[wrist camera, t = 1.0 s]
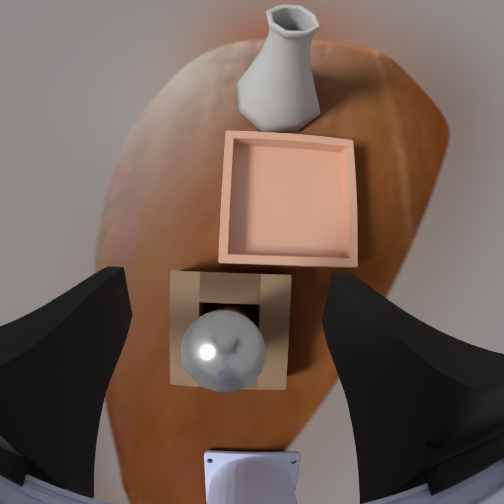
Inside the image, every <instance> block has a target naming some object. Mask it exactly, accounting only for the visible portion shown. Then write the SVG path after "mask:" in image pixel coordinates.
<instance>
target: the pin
mask: <svg viewBox="0 0 504 504" xmlns="http://www.w3.org/2000/svg"><path fill="white" fill-rule="evenodd" d="M181 358H182V362H183V365H184V367H185V369H186V371H187V372H188V374H189V375H190V376H191V378H192V379H193V380H194V381H196V382H197V383H198V384H200V385H201V386H203V387H205V388H207V389H210V390H213V391H217V392H232V391H236V390H240V389H242V388H244V387H246V386H248V385H249V384H251V383H252V382H253V381H254V380H255V379H256V378H257V377H258V376H259V374H260V372H261V371H262V369H263V366H264V363H265V358H266V348H265V343H264V340H263V337H262V334H261V332H260V330H259V329H258V327H257V326H256V325H255V324H254V322H252V321H251V319H250V317H249V315H248V314H247V313H246V312H245V311H244V310H243V309H241V308H239V307H236V306H224V307H221V308H219V309H218V310H215V311H211V312H208V313H206V314H204V315H202V316H200V317H199V318H198V319H196V320H195V321H194V322H193V323H192V324H191V325H190V326H189V328H188V329H187V330H186V332H185V334H184V336H183V339H182V343H181Z"/></svg>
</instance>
